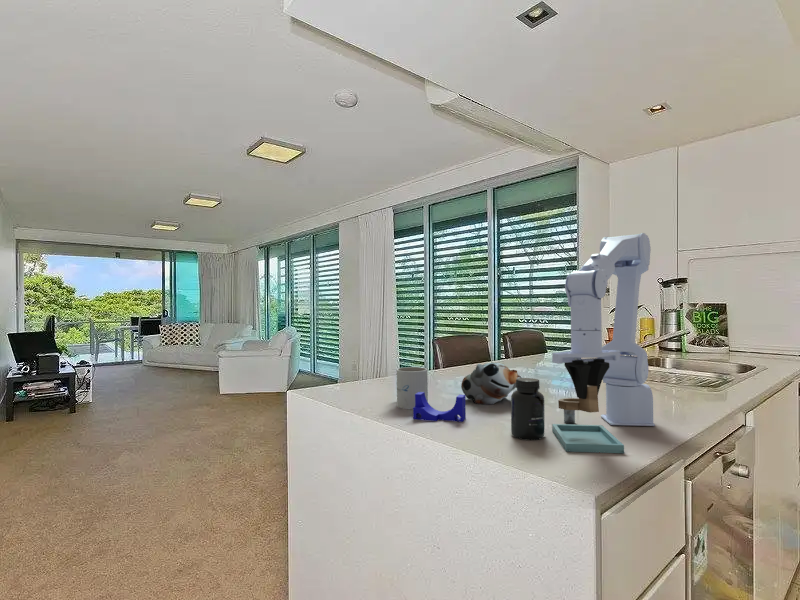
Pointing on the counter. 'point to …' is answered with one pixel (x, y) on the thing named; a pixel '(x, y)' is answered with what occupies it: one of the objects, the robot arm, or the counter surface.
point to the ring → (582, 401)
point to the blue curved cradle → (428, 413)
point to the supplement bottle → (527, 410)
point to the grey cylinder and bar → (569, 416)
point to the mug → (410, 385)
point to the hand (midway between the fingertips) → (587, 397)
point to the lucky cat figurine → (489, 383)
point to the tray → (587, 438)
